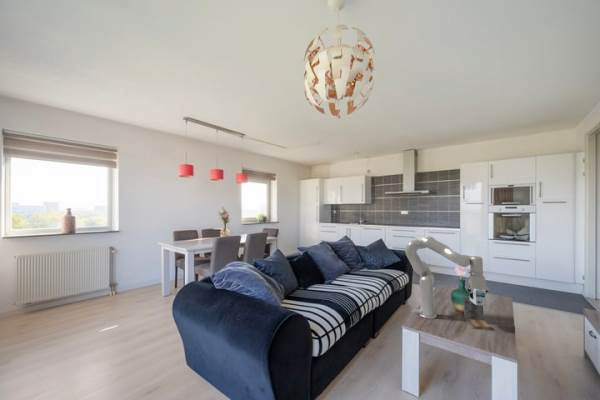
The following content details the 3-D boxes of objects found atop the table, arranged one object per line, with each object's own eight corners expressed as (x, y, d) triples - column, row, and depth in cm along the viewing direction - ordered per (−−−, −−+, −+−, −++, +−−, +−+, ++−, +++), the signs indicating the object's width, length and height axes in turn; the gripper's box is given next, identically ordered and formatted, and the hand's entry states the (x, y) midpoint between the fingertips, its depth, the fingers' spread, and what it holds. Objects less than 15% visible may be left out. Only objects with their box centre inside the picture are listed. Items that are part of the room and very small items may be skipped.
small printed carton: (472, 328, 177) (471, 302, 178) (464, 320, 191) (463, 296, 192) (492, 330, 174) (491, 303, 175) (482, 321, 188) (481, 297, 189)
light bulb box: (486, 306, 176) (486, 290, 177) (475, 305, 177) (475, 289, 178) (479, 300, 186) (478, 286, 187) (469, 300, 188) (468, 285, 188)
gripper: (465, 274, 181) (466, 299, 180) (493, 275, 177) (493, 301, 177) (461, 271, 189) (461, 296, 188) (487, 273, 185) (488, 297, 184)
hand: (477, 298), depth 182 cm, fingers closed on light bulb box, 6 cm apart
